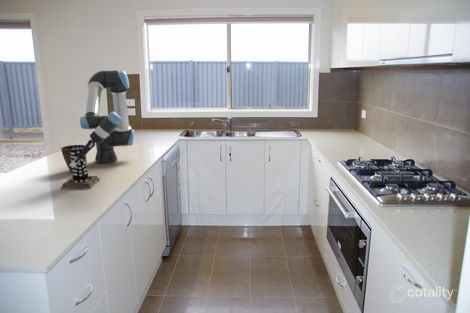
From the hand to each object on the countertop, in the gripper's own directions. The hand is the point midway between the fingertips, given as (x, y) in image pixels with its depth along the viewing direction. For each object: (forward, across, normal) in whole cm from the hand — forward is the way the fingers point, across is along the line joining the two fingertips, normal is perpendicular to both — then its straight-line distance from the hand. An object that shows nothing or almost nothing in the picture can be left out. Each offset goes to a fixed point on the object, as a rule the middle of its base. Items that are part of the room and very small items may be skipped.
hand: (72, 164), depth 201 cm
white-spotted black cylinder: (+6, 0, -10) cm, 12 cm away
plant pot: (+11, +32, -7) cm, 34 cm away
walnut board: (+7, 0, -11) cm, 13 cm away
